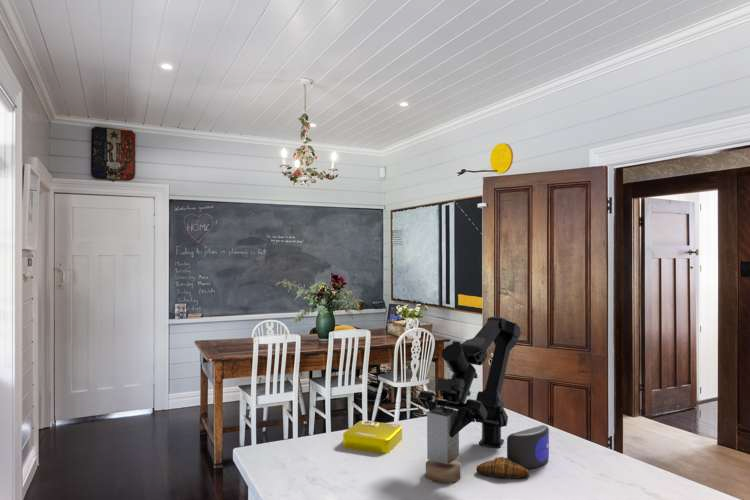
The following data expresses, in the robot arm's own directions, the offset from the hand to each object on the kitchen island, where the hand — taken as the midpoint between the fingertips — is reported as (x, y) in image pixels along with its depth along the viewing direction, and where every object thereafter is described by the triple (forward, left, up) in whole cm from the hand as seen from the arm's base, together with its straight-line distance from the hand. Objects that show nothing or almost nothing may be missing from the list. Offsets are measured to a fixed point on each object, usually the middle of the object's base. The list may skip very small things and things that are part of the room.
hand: (440, 433), depth 131 cm
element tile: (-15, -27, -12) cm, 33 cm away
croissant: (-9, +14, -12) cm, 20 cm away
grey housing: (-1, 0, -7) cm, 7 cm away
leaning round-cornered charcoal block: (-19, +19, -12) cm, 30 cm away
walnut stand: (-1, 0, -11) cm, 11 cm away
